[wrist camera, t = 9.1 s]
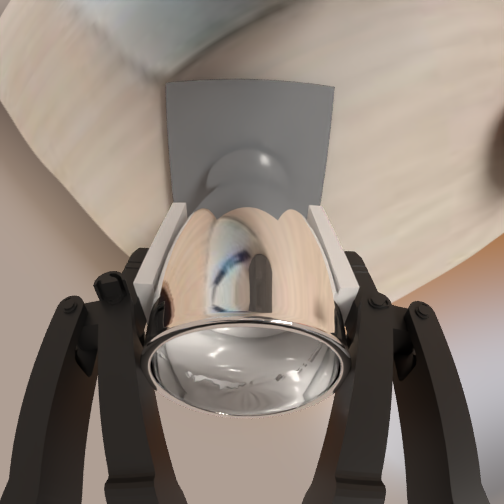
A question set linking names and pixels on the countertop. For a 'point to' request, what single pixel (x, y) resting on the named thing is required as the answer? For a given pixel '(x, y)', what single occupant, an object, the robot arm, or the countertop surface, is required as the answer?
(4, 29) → the countertop surface
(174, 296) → the beer glass
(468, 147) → the countertop surface
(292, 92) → the slate board
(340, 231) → the countertop surface
